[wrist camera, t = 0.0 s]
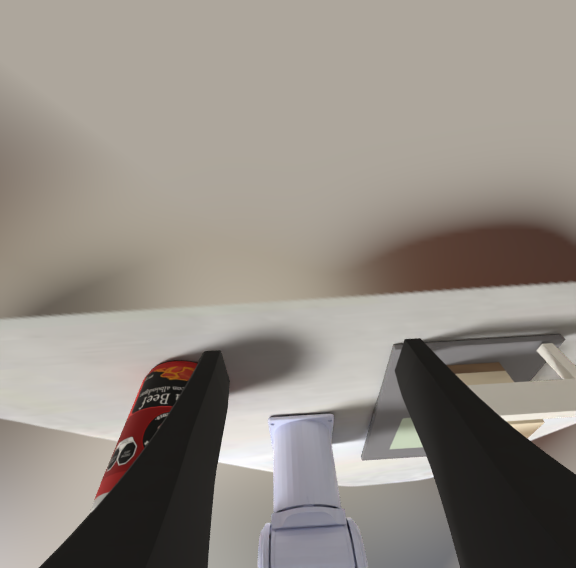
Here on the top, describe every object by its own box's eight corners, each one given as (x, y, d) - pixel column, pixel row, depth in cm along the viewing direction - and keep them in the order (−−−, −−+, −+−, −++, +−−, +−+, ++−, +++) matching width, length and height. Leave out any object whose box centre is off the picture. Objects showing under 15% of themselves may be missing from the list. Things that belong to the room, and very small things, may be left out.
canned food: (227, 364, 27) (207, 502, 19) (216, 405, 32) (196, 531, 23) (144, 352, 26) (80, 497, 17) (145, 398, 31) (95, 530, 22)
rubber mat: (465, 449, 43) (467, 453, 42) (361, 456, 43) (362, 460, 42) (560, 334, 27) (565, 339, 26) (393, 344, 27) (395, 349, 26)
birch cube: (476, 394, 32) (512, 452, 27) (424, 397, 32) (450, 456, 27) (499, 362, 28) (544, 422, 23) (439, 365, 28) (473, 426, 23)
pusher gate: (546, 350, 27) (608, 414, 22) (410, 358, 27) (442, 425, 22) (552, 343, 26) (617, 408, 21) (413, 351, 26) (446, 419, 21)
